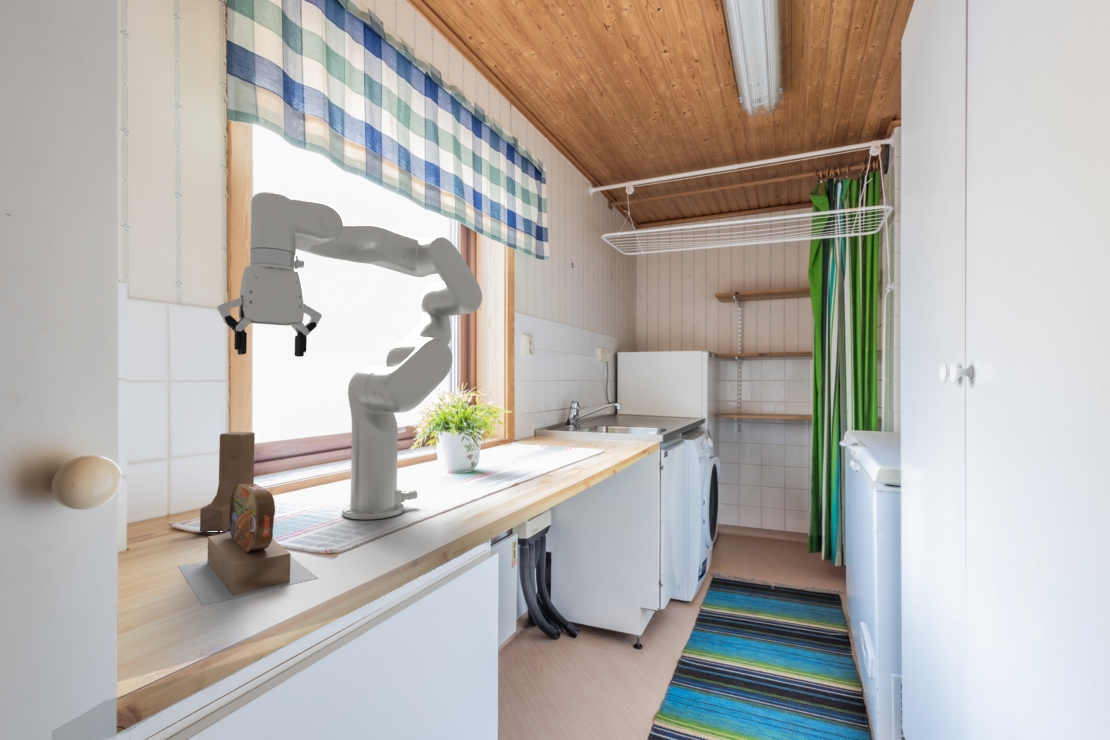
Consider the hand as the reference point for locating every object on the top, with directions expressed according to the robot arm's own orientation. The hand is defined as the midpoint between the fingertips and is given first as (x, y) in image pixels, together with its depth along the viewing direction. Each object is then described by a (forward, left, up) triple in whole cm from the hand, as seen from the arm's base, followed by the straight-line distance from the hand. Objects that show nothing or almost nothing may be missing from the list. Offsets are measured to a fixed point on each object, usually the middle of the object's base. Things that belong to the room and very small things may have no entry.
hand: (271, 355), depth 98 cm
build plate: (+8, +20, -33) cm, 40 cm away
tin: (+8, +20, -28) cm, 36 cm away
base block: (+8, +20, -32) cm, 39 cm away
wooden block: (+4, -12, -34) cm, 36 cm away
